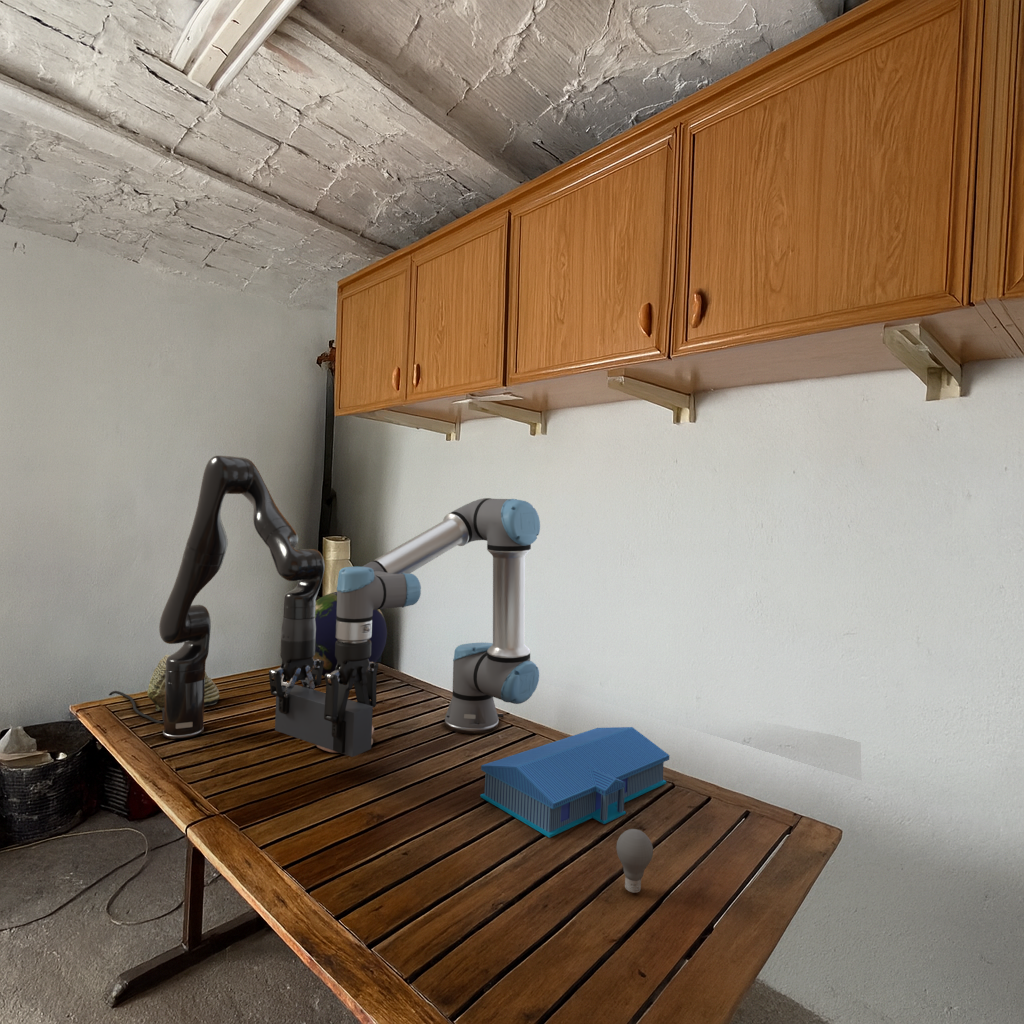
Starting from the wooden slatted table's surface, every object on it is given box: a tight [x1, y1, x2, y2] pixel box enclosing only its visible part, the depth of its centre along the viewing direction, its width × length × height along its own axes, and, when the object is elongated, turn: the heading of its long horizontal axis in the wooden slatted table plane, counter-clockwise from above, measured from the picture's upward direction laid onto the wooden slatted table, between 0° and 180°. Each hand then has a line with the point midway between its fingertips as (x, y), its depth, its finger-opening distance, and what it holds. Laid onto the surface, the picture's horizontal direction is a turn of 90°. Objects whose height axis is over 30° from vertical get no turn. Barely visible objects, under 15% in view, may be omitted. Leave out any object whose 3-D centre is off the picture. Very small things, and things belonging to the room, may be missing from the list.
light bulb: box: [615, 828, 654, 894], centre depth 106 cm, size 6×6×10 cm
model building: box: [479, 726, 670, 839], centre depth 141 cm, size 39×24×10 cm, turn 132°
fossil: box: [147, 654, 221, 712], centre depth 185 cm, size 9×18×15 cm, turn 132°
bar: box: [274, 684, 374, 758], centre depth 141 cm, size 25×6×9 cm, turn 59°
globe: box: [313, 591, 388, 677], centre depth 220 cm, size 30×30×30 cm
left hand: (295, 709), depth 145 cm, fingers open, 5 cm apart
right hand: (349, 746), depth 136 cm, fingers closed on bar, 5 cm apart
